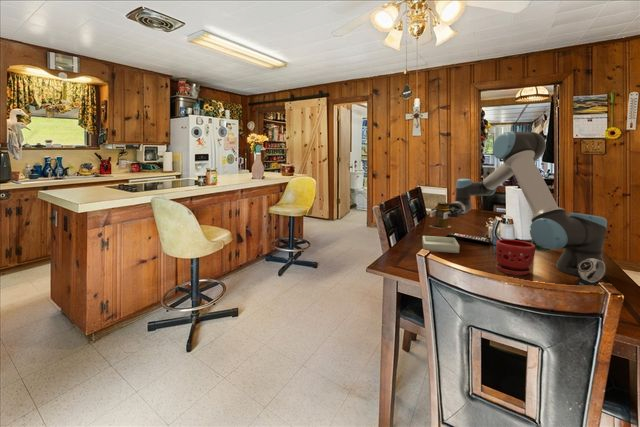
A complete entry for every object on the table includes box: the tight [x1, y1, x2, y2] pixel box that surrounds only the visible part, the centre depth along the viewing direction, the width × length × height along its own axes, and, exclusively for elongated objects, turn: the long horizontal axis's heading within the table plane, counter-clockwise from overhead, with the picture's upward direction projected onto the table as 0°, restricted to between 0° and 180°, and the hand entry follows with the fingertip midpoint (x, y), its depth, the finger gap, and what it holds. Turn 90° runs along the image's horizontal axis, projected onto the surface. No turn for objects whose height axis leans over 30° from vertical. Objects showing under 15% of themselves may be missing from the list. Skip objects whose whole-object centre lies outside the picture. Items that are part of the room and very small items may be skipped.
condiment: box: [429, 201, 452, 230], centre depth 157 cm, size 7×8×12 cm
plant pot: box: [495, 238, 536, 276], centre depth 126 cm, size 13×13×12 cm
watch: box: [576, 258, 606, 286], centre depth 108 cm, size 6×8×11 cm
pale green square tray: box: [421, 235, 460, 254], centre depth 159 cm, size 16×16×4 cm
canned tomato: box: [530, 238, 551, 252], centre depth 156 cm, size 8×8×11 cm
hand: (437, 215), depth 153 cm, fingers closed on condiment, 6 cm apart
